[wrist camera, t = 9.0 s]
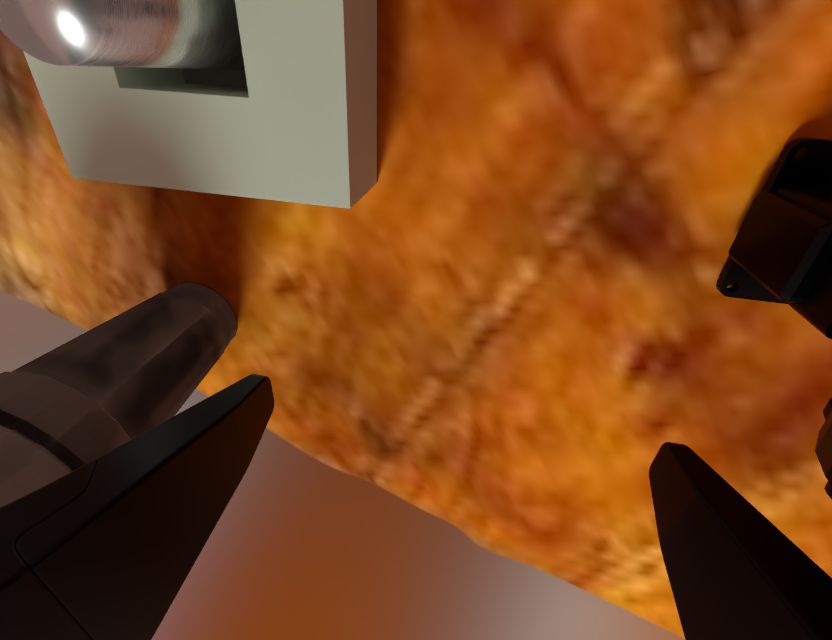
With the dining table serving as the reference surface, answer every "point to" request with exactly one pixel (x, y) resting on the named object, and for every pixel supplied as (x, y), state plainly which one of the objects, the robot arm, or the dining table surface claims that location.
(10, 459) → the beverage cup
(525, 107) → the dining table surface
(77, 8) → the peg
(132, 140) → the socket block
